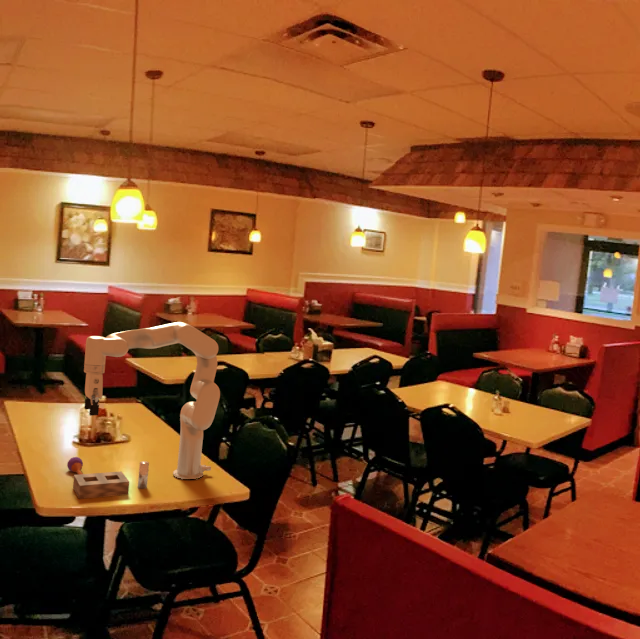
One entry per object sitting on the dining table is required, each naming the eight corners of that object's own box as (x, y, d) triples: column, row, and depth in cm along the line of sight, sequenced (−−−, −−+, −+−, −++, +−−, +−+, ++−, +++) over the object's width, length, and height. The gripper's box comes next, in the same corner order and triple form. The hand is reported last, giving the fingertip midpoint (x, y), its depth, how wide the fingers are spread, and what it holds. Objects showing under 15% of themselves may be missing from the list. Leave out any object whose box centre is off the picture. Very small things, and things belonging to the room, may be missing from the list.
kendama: (75, 476, 250) (65, 456, 267) (76, 490, 251) (66, 470, 268) (90, 472, 253) (80, 453, 270) (92, 486, 254) (81, 466, 271)
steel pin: (145, 485, 258) (147, 461, 258) (147, 488, 255) (149, 463, 255) (136, 486, 257) (138, 461, 256) (139, 489, 254) (141, 464, 253)
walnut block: (120, 483, 258) (121, 471, 257) (128, 494, 247) (129, 481, 247) (73, 487, 248) (73, 474, 248) (78, 498, 238) (79, 485, 238)
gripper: (109, 372, 243) (106, 417, 244) (99, 364, 258) (96, 406, 259) (88, 372, 239) (85, 418, 241) (80, 364, 254) (77, 406, 256)
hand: (91, 412), depth 250 cm, fingers open, 9 cm apart
